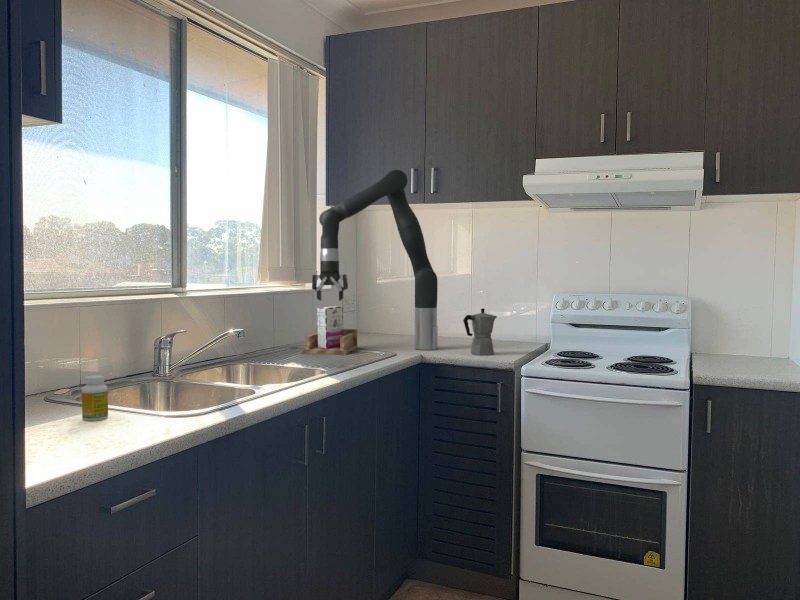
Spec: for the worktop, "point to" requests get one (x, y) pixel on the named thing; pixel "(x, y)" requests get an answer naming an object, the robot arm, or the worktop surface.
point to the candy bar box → (329, 326)
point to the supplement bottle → (94, 399)
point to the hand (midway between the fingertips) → (330, 300)
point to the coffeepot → (481, 332)
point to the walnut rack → (346, 346)
